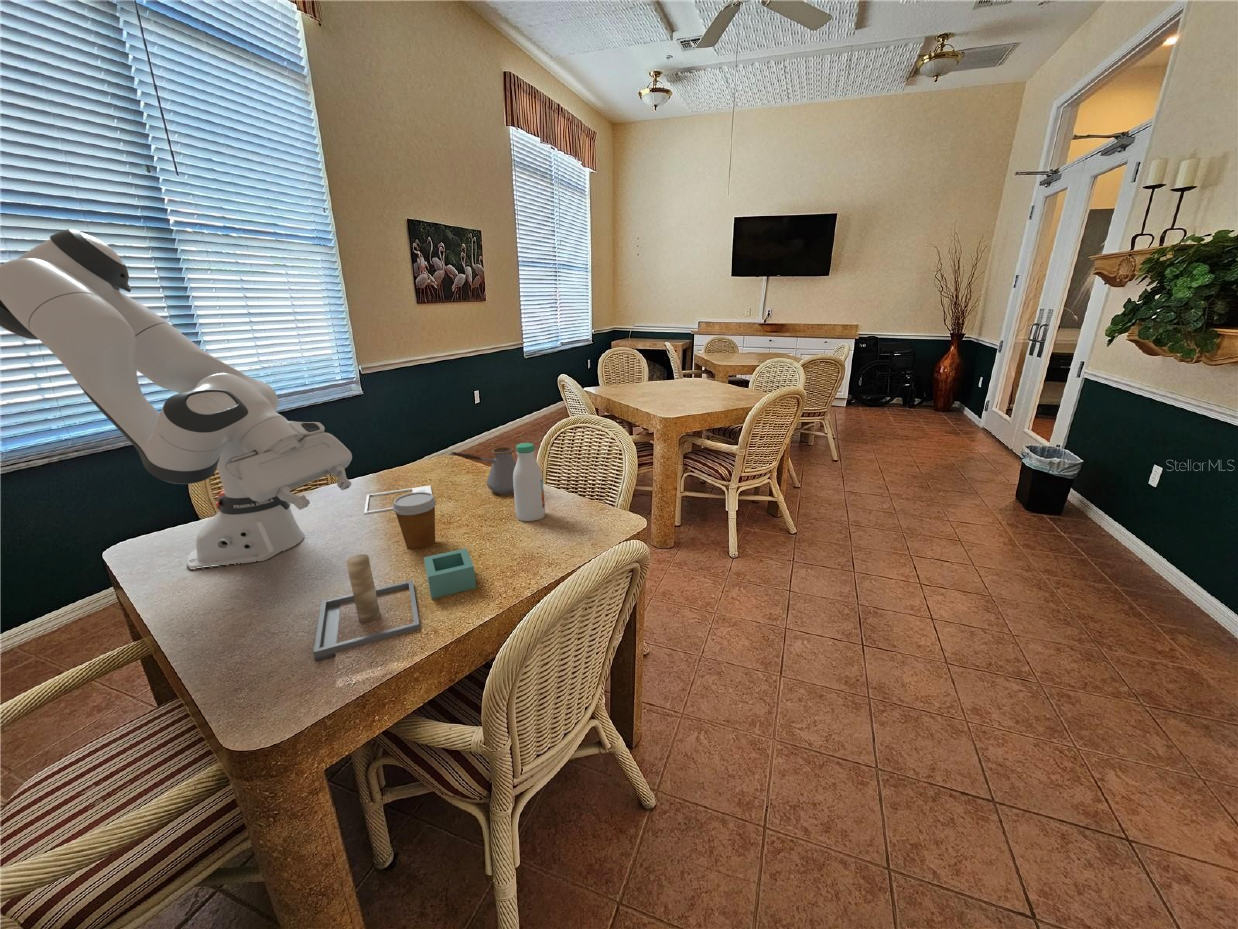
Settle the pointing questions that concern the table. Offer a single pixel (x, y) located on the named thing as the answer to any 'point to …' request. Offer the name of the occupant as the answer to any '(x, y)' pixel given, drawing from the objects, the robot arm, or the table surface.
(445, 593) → the ceramic holder
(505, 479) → the coffee pot
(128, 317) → the robot arm
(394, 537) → the table surface
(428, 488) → the photo frame
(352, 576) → the wooden dowel
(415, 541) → the disposable coffee cup
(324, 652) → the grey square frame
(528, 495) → the milk bottle
